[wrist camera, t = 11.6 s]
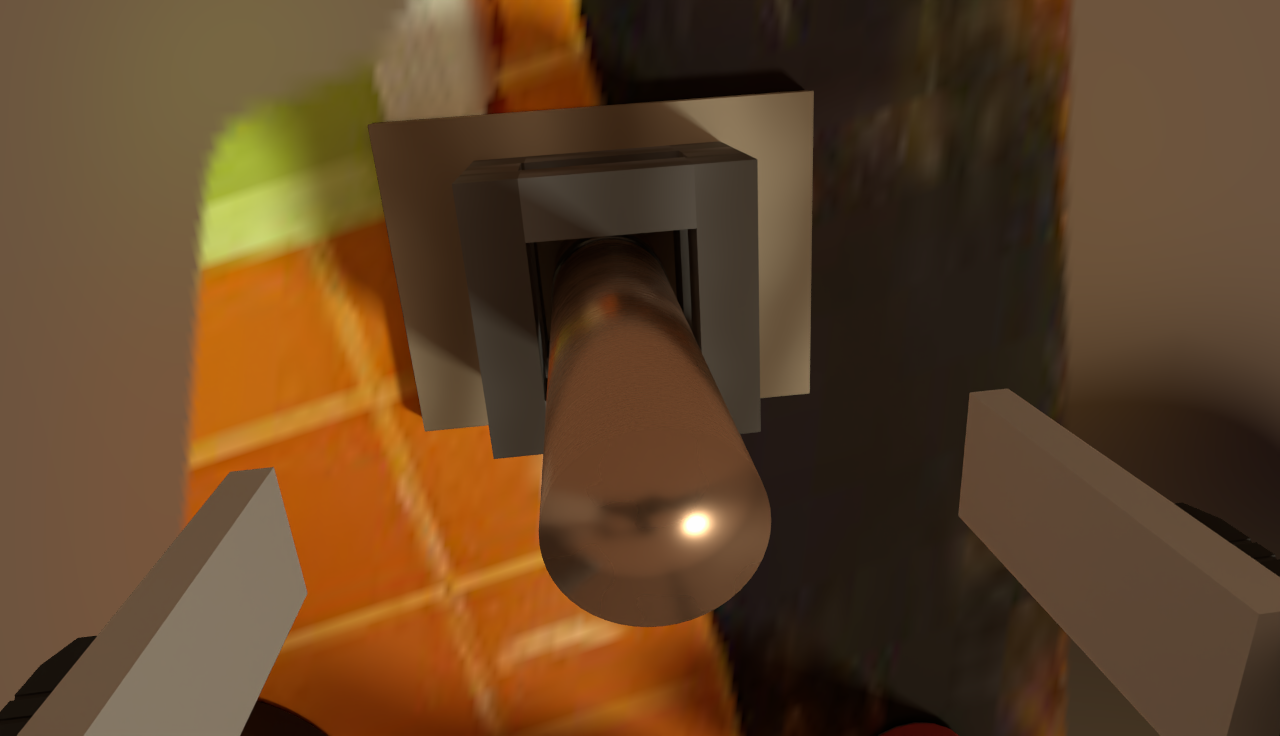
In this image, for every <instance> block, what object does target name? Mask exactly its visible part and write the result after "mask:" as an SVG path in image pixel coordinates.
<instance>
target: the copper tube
mask: <svg viewBox="0 0 1280 736" xmlns="http://www.w3.org/2000/svg"><path fill="white" fill-rule="evenodd" d="M551 302H552V315H551V332H550V349H549V366H548V383H547V401H546V418H545V435H544V452H543V470H542V487H541V504H540V521H539V542H540V549H541V554H542V558H543V561H544V563H545V566H546V568H547V571H548V572H549V574H550V576H551V578H552V579H553V581H554V582H555V584H556V585H557V586H558V588H559V589H560V590H561V591H562V592H563V593H564V594H565V595H566V596H567V597H568V598H569V599H570V600H571V601H572V602H574V603H575V604H576V605H578V606H579V607H580V608H582V609H584V610H585V611H587V612H589V613H591V614H593V615H595V616H597V617H600V618H602V619H604V620H607V621H611V622H614V623H618V624H623V625H629V626H639V627H656V626H666V625H672V624H678V623H681V622H685V621H689V620H692V619H694V618H697V617H699V616H702V615H704V614H706V613H708V612H710V611H712V610H714V609H716V608H718V607H719V606H721V605H722V604H723V603H725V602H726V601H728V600H729V599H730V598H732V597H733V596H734V595H735V594H736V593H737V592H739V591H740V590H741V589H742V587H743V586H744V585H745V584H746V583H747V582H748V581H749V580H750V578H751V577H752V575H753V574H754V573H755V571H756V570H757V568H758V566H759V564H760V562H761V561H762V559H763V556H764V554H765V551H766V548H767V545H768V541H769V536H770V529H771V512H770V505H769V501H768V496H767V493H766V491H765V488H764V486H763V483H762V481H761V479H760V477H759V475H758V473H757V470H756V468H755V466H754V464H753V462H752V460H751V458H750V455H749V453H748V451H747V449H746V447H745V445H744V442H743V440H742V438H741V436H740V434H739V432H738V430H737V427H736V425H735V423H734V421H733V419H732V417H731V415H730V412H729V410H728V408H727V406H726V404H725V402H724V400H723V397H722V395H721V393H720V391H719V389H718V387H717V384H716V382H715V380H714V378H713V376H712V374H711V372H710V369H709V367H708V365H707V363H706V361H705V359H704V357H703V354H702V352H701V350H700V348H699V346H698V344H697V341H696V339H695V337H694V335H693V333H692V331H691V329H690V326H689V324H688V322H687V320H686V318H685V316H684V314H683V311H682V309H681V307H680V305H679V303H678V301H677V299H676V296H675V294H674V292H673V290H672V288H671V286H670V283H669V280H668V276H667V274H666V272H665V269H664V267H663V265H662V263H661V261H660V259H659V258H658V256H657V254H656V253H655V251H654V249H653V247H652V245H651V244H650V242H649V241H648V239H647V238H646V237H645V236H644V235H643V234H642V233H637V234H626V235H614V236H602V237H591V238H579V239H567V240H564V241H563V243H562V244H561V246H560V248H559V250H558V252H557V255H556V259H555V265H554V274H553V278H552V290H551Z"/></svg>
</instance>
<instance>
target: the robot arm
mask: <svg viewBox="0 0 1280 736" xmlns="http://www.w3.org/2000/svg"><path fill="white" fill-rule="evenodd" d="M959 517H960V518H961V519H962V520H963V521H964V522H965V523H966V524H967V525H968V526H969V528H970V529H971V530H972V531H973V532H974V533H975V534H976V535H977V536H978V537H979V538H980V540H981V541H982V542H983V543H984V544H985V545H986V546H987V547H988V548H989V549H990V550H991V551H992V553H993V554H994V555H995V556H996V557H997V558H998V559H999V560H1000V561H1001V562H1002V563H1003V565H1004V566H1005V567H1006V568H1007V569H1008V570H1009V571H1010V572H1011V573H1012V574H1013V575H1014V577H1015V578H1016V579H1017V580H1018V581H1019V582H1020V583H1021V584H1022V585H1023V586H1024V587H1025V589H1026V590H1027V591H1028V592H1029V593H1030V594H1031V595H1032V596H1033V597H1034V598H1035V599H1036V601H1037V602H1038V603H1039V604H1040V605H1041V606H1042V607H1043V608H1044V609H1045V610H1046V611H1047V613H1048V614H1049V615H1050V616H1051V617H1052V618H1053V619H1054V620H1055V621H1056V622H1057V623H1058V624H1059V626H1060V627H1061V628H1062V629H1063V630H1064V631H1065V632H1066V633H1067V634H1068V635H1069V636H1070V638H1071V639H1072V640H1073V641H1074V642H1075V643H1076V644H1077V645H1078V646H1079V647H1080V648H1081V649H1082V650H1083V652H1084V653H1085V654H1086V655H1087V656H1088V657H1089V658H1090V659H1091V660H1092V662H1093V663H1094V664H1095V665H1096V666H1097V667H1098V668H1099V669H1100V670H1101V671H1102V672H1103V674H1104V675H1105V676H1106V677H1107V678H1108V679H1109V680H1110V681H1111V682H1112V683H1113V684H1114V686H1116V688H1117V689H1118V690H1119V691H1120V692H1121V693H1122V694H1123V695H1124V696H1125V697H1126V698H1127V700H1128V701H1129V702H1130V703H1131V704H1132V705H1133V706H1134V707H1135V708H1136V709H1137V711H1138V712H1139V713H1140V714H1141V715H1142V716H1143V717H1144V718H1145V719H1146V720H1147V721H1148V723H1149V724H1150V725H1151V726H1152V727H1153V728H1154V729H1155V730H1156V731H1157V732H1158V733H1159V735H1160V736H1280V559H1279V560H1277V559H1276V557H1275V554H1273V553H1272V552H1270V551H1269V550H1267V549H1266V548H1264V547H1263V546H1261V545H1259V544H1258V543H1257V542H1256V543H1252V542H1251V540H1250V538H1249V537H1248V536H1246V535H1244V534H1243V533H1242V532H1240V531H1239V530H1237V529H1236V528H1234V527H1233V526H1231V525H1229V524H1228V523H1227V522H1225V521H1224V520H1222V519H1220V518H1218V517H1216V516H1213V515H1211V514H1208V513H1206V512H1204V511H1201V510H1199V509H1197V508H1194V507H1192V506H1189V505H1187V504H1184V503H1175V504H1173V503H1172V502H1171V501H1169V500H1168V499H1166V498H1165V497H1163V496H1162V495H1160V494H1159V493H1158V492H1156V491H1155V490H1153V489H1152V488H1150V487H1149V486H1147V485H1146V484H1144V483H1143V482H1142V481H1140V480H1139V479H1137V478H1136V477H1134V476H1133V475H1131V474H1130V473H1129V472H1127V471H1126V470H1124V469H1123V468H1121V467H1120V466H1118V465H1117V464H1116V463H1114V462H1113V461H1111V460H1110V459H1109V458H1107V457H1105V456H1104V455H1103V454H1101V453H1100V452H1098V451H1097V450H1095V449H1094V448H1093V447H1091V446H1090V445H1088V444H1087V443H1085V442H1084V441H1082V440H1081V439H1080V438H1078V437H1077V436H1075V435H1074V434H1072V433H1071V432H1070V431H1068V430H1067V429H1065V428H1064V427H1062V426H1061V425H1059V424H1058V423H1057V422H1055V421H1054V420H1052V419H1051V418H1049V417H1048V416H1046V415H1045V414H1044V413H1042V412H1041V411H1039V410H1038V409H1036V408H1035V407H1033V406H1032V405H1031V404H1029V403H1028V402H1026V401H1025V400H1023V399H1022V398H1020V397H1019V396H1018V395H1016V394H1015V393H1013V392H1012V391H1010V390H1009V389H1000V390H991V391H981V392H972V393H970V396H969V407H968V418H967V429H966V440H965V451H964V462H963V472H962V483H961V494H960V505H959ZM306 595H307V590H306V586H305V582H304V579H303V575H302V571H301V567H300V564H299V560H298V556H297V552H296V549H295V545H294V541H293V538H292V534H291V530H290V526H289V523H288V519H287V515H286V511H285V508H284V504H283V500H282V496H281V493H280V489H279V485H278V482H277V478H276V474H275V470H274V467H272V468H262V469H253V470H244V471H234V472H230V473H229V474H228V475H227V476H226V478H225V479H224V480H223V481H222V483H221V484H220V485H219V486H218V488H217V489H216V490H215V491H214V492H213V494H212V495H211V496H210V497H209V499H208V500H207V501H206V502H205V504H204V505H203V506H202V507H201V509H200V510H199V511H198V512H197V513H196V515H195V516H194V517H193V518H192V520H191V521H190V522H189V523H188V525H187V526H186V527H185V528H184V530H183V531H182V532H181V533H180V534H179V536H178V537H177V538H176V539H175V541H174V542H173V543H172V544H171V546H170V547H169V548H168V549H167V551H166V552H165V553H164V554H163V556H162V557H161V558H160V559H159V560H158V562H157V563H156V564H155V565H154V567H153V568H152V569H151V570H150V572H149V573H148V574H147V575H146V577H145V578H144V579H143V580H142V581H141V583H140V584H139V585H138V586H137V588H136V589H135V590H134V592H133V593H132V594H131V595H130V596H129V598H128V599H127V600H126V601H125V603H124V604H123V605H122V606H121V607H120V609H119V610H118V611H117V612H116V614H115V615H114V616H113V617H112V619H111V620H110V621H109V622H108V624H107V625H106V626H105V627H104V629H103V630H102V631H101V632H100V633H99V635H98V636H91V637H82V638H77V639H76V640H74V641H73V642H72V643H70V644H69V645H68V646H66V647H65V648H63V649H62V650H61V651H60V652H58V653H57V654H56V655H54V656H53V657H51V658H50V659H48V660H47V661H46V662H44V663H43V664H42V665H41V666H40V667H39V668H38V669H37V670H36V671H35V672H34V674H33V675H32V676H31V677H30V678H29V679H28V680H27V682H26V683H25V684H24V685H23V686H22V688H21V689H20V690H19V691H18V692H17V693H16V694H15V700H14V701H10V702H8V704H7V705H6V706H5V707H4V708H3V709H2V710H1V712H0V736H326V735H325V734H323V733H322V732H321V731H319V730H318V729H316V728H315V727H313V726H312V725H310V724H309V723H307V722H305V721H304V720H302V719H300V718H298V717H296V716H294V715H292V714H290V713H288V712H286V711H283V710H281V709H278V708H276V707H273V706H270V705H267V704H264V703H261V702H258V701H257V699H258V697H259V694H260V692H261V690H262V688H263V686H264V684H265V682H266V680H267V678H268V675H269V673H270V671H271V669H272V667H273V665H274V663H275V661H276V658H277V656H278V654H279V652H280V650H281V648H282V646H283V644H284V641H285V639H286V637H287V635H288V633H289V631H290V629H291V627H292V625H293V622H294V620H295V618H296V616H297V614H298V612H299V610H300V608H301V605H302V603H303V601H304V599H305V597H306Z"/></svg>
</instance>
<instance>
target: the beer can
mask: <svg viewBox="0 0 1280 736" xmlns="http://www.w3.org/2000/svg"><path fill="white" fill-rule="evenodd" d="M878 736H959V735H957V734H956V733H955V732H953V731H952V730H951V729H949V728H947V727H943V726H940V725H937V724H934V723H925V722H912V723H908V724H904V725H899V726H895V727H893V728H891V729H889V730H887V731H885V732H883V733H881V734H879V735H878Z"/></svg>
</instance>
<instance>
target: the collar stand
mask: <svg viewBox="0 0 1280 736" xmlns="http://www.w3.org/2000/svg"><path fill="white" fill-rule="evenodd" d="M813 101H814V91H808V90H803V91H790V92H776V93H763V94H750V95H737V96H724V97H710V98H697V99H684V100H671V101H657V102H644V103H631V104H618V105H605V106H591V107H578V108H565V109H552V110H538V111H525V112H512V113H499V114H486V115H472V116H459V117H446V118H433V119H419V120H406V121H393V122H380V123H372V124H369V125H368V130H369V135H370V141H371V146H372V151H373V157H374V162H375V167H376V173H377V178H378V183H379V189H380V194H381V199H382V205H383V210H384V215H385V221H386V226H387V231H388V237H389V242H390V247H391V253H392V258H393V263H394V269H395V274H396V279H397V285H398V290H399V295H400V301H401V306H402V311H403V317H404V322H405V327H406V333H407V338H408V343H409V349H410V354H411V359H412V365H413V370H414V375H415V381H416V386H417V391H418V397H419V402H420V407H421V413H422V418H423V423H424V429H425V431H434V430H444V429H454V428H464V427H475V426H485V425H489V430H490V437H491V443H492V450H493V456H494V459H498V458H508V457H518V456H528V455H538V454H543V452H544V435H545V418H546V401H547V383H548V366H549V349H550V332H551V315H552V302H551V290H552V278H553V274H554V265H555V259H556V255H557V252H558V250H559V248H560V246H561V244H562V243H563V241H564V240H567V239H579V238H591V237H602V236H614V235H626V234H637V233H642V234H643V235H644V236H645V237H646V238H647V239H648V241H649V242H650V244H651V245H652V247H653V249H654V251H655V253H656V254H657V256H658V258H659V259H660V261H661V263H662V265H663V267H664V269H665V272H666V274H667V276H668V280H669V283H670V286H671V288H672V290H673V292H674V294H675V296H676V299H677V301H678V303H679V305H680V307H681V309H682V311H683V314H684V316H685V318H686V320H687V322H688V324H689V326H690V329H691V331H692V333H693V335H694V337H695V339H696V341H697V344H698V346H699V348H700V350H701V352H702V354H703V357H704V359H705V361H706V363H707V365H708V367H709V369H710V372H711V374H712V376H713V378H714V380H715V382H716V384H717V387H718V389H719V391H720V393H721V395H722V397H723V400H724V402H725V404H726V406H727V408H728V410H729V412H730V415H731V417H732V419H733V421H734V423H735V425H736V427H737V430H738V432H739V434H743V433H753V432H761V420H760V398H766V397H776V396H786V395H796V394H806V393H809V392H810V319H811V247H812V174H813Z"/></svg>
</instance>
